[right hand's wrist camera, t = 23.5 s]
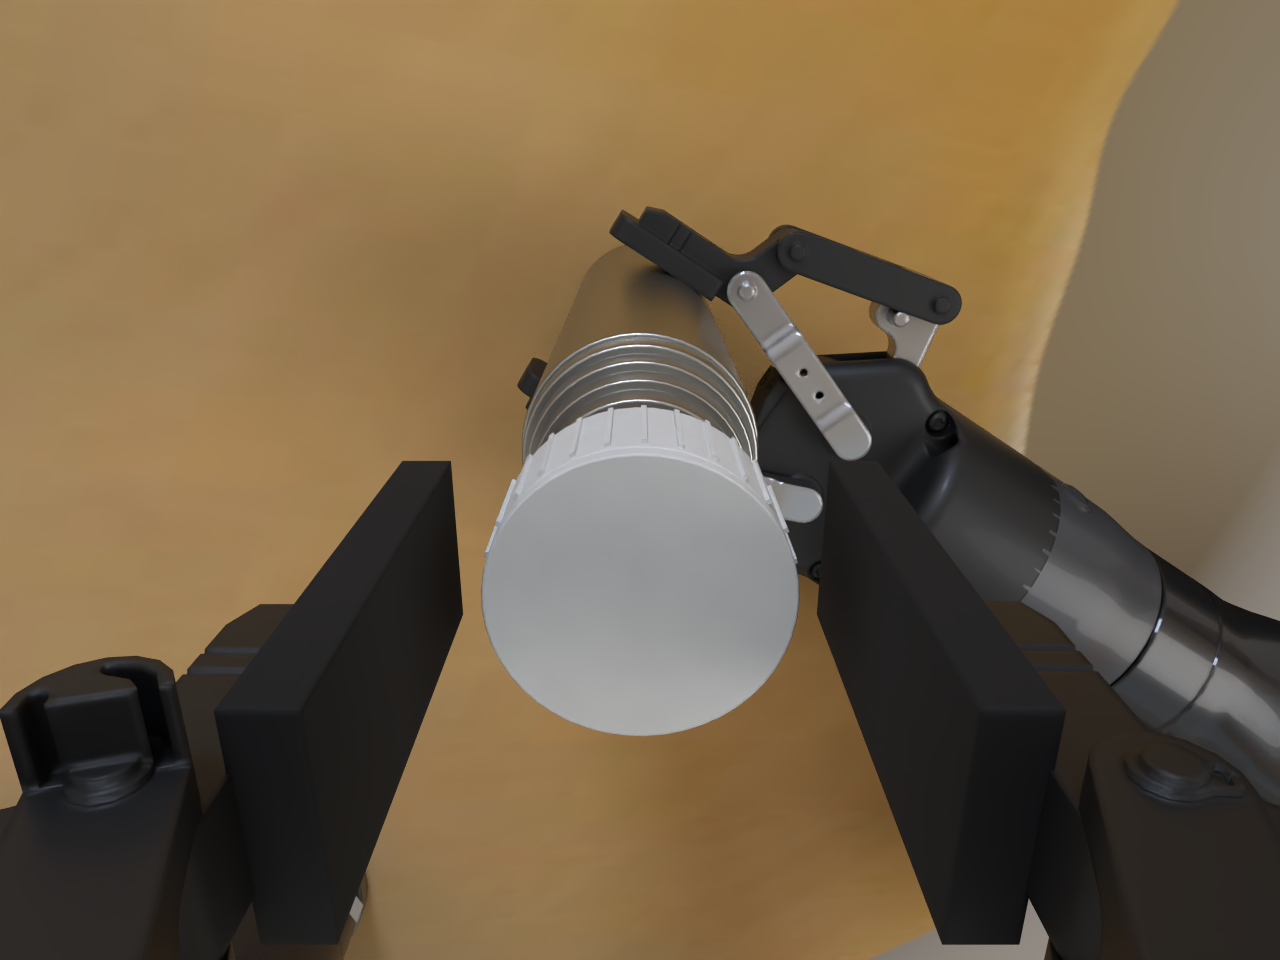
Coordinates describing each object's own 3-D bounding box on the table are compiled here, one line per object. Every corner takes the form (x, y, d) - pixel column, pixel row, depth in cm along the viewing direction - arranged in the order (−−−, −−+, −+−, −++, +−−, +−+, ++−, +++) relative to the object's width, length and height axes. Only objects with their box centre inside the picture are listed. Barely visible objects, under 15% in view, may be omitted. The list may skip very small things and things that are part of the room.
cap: (715, 689, 15) (727, 775, 13) (467, 608, 15) (438, 685, 13) (825, 460, 14) (858, 517, 12) (553, 361, 13) (536, 401, 11)
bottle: (631, 394, 36) (617, 773, 14) (551, 299, 35) (399, 557, 13) (728, 317, 35) (876, 600, 13) (649, 216, 34) (667, 344, 12)
